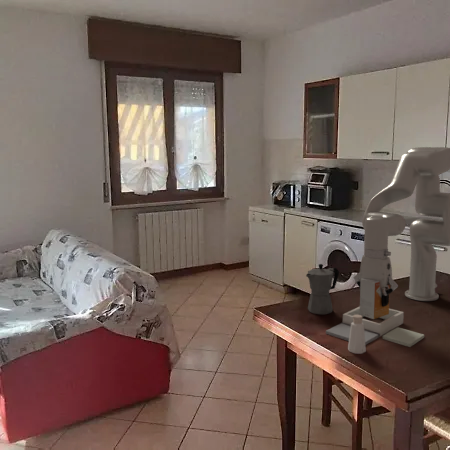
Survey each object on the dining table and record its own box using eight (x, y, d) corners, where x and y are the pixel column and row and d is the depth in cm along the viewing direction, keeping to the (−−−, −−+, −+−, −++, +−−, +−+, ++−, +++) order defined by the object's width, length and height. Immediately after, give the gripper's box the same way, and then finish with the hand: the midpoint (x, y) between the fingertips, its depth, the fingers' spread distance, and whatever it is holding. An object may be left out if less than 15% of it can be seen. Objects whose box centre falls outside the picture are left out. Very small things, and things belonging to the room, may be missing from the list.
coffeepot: (314, 317, 172) (315, 269, 168) (298, 310, 180) (298, 263, 177) (346, 309, 179) (347, 263, 176) (329, 302, 187) (330, 258, 184)
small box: (374, 320, 159) (374, 282, 157) (359, 314, 165) (359, 278, 162) (389, 314, 164) (390, 278, 161) (374, 309, 169) (375, 274, 166)
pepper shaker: (349, 345, 148) (350, 311, 146) (367, 348, 145) (368, 314, 144) (345, 352, 143) (346, 317, 141) (364, 355, 141) (365, 320, 139)
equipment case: (366, 313, 175) (367, 302, 174) (403, 323, 165) (403, 312, 164) (325, 333, 157) (325, 322, 156) (363, 346, 147) (364, 333, 146)
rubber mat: (397, 330, 159) (397, 327, 159) (424, 337, 152) (424, 334, 152) (382, 338, 152) (382, 335, 152) (409, 347, 146) (409, 344, 145)
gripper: (405, 254, 156) (403, 306, 160) (358, 247, 169) (358, 294, 172) (394, 259, 151) (393, 312, 155) (347, 251, 164) (346, 300, 167)
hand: (374, 302), depth 163 cm, fingers closed on small box, 6 cm apart
